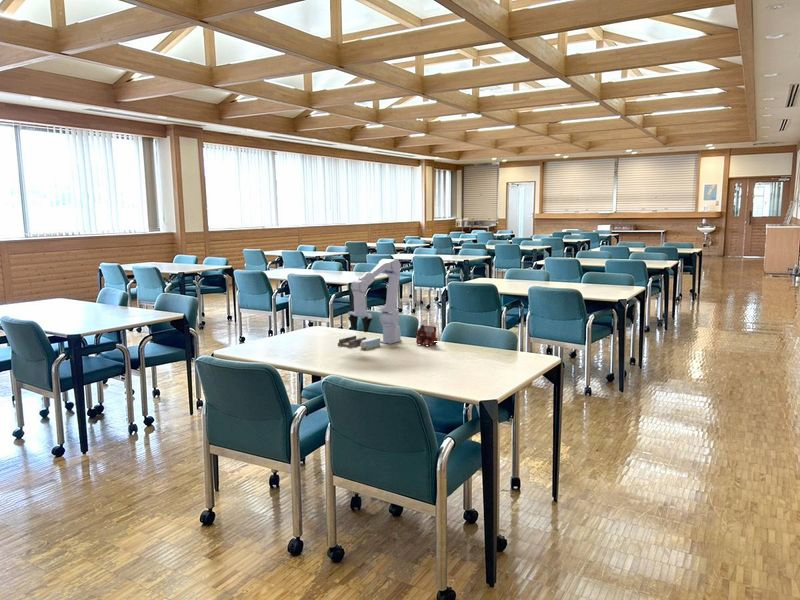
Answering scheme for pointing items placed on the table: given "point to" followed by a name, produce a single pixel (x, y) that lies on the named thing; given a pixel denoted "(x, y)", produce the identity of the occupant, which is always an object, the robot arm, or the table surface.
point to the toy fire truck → (426, 335)
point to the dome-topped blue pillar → (370, 343)
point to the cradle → (351, 341)
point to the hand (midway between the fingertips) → (360, 331)
